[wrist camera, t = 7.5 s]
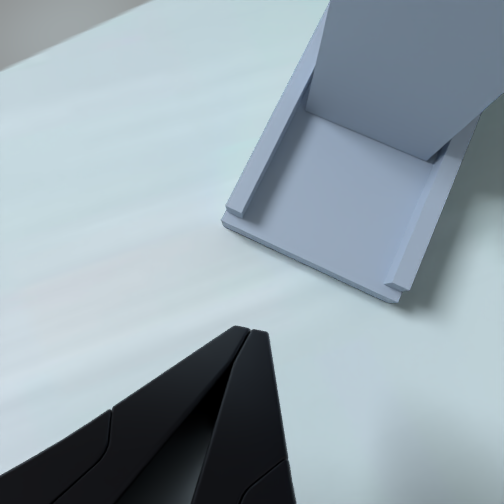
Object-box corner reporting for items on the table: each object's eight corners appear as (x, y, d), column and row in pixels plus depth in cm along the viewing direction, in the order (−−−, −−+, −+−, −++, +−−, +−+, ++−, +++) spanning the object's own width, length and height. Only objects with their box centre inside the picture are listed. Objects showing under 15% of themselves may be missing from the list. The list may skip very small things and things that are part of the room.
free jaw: (425, 161, 16) (584, 20, 8) (305, 110, 17) (345, -66, 9) (442, 121, 16) (610, -51, 9) (323, 73, 17) (378, -129, 9)
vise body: (387, 303, 16) (499, 298, 9) (223, 226, 17) (194, 160, 10) (501, 26, 19) (667, -166, 11) (352, -29, 20) (412, -244, 12)
